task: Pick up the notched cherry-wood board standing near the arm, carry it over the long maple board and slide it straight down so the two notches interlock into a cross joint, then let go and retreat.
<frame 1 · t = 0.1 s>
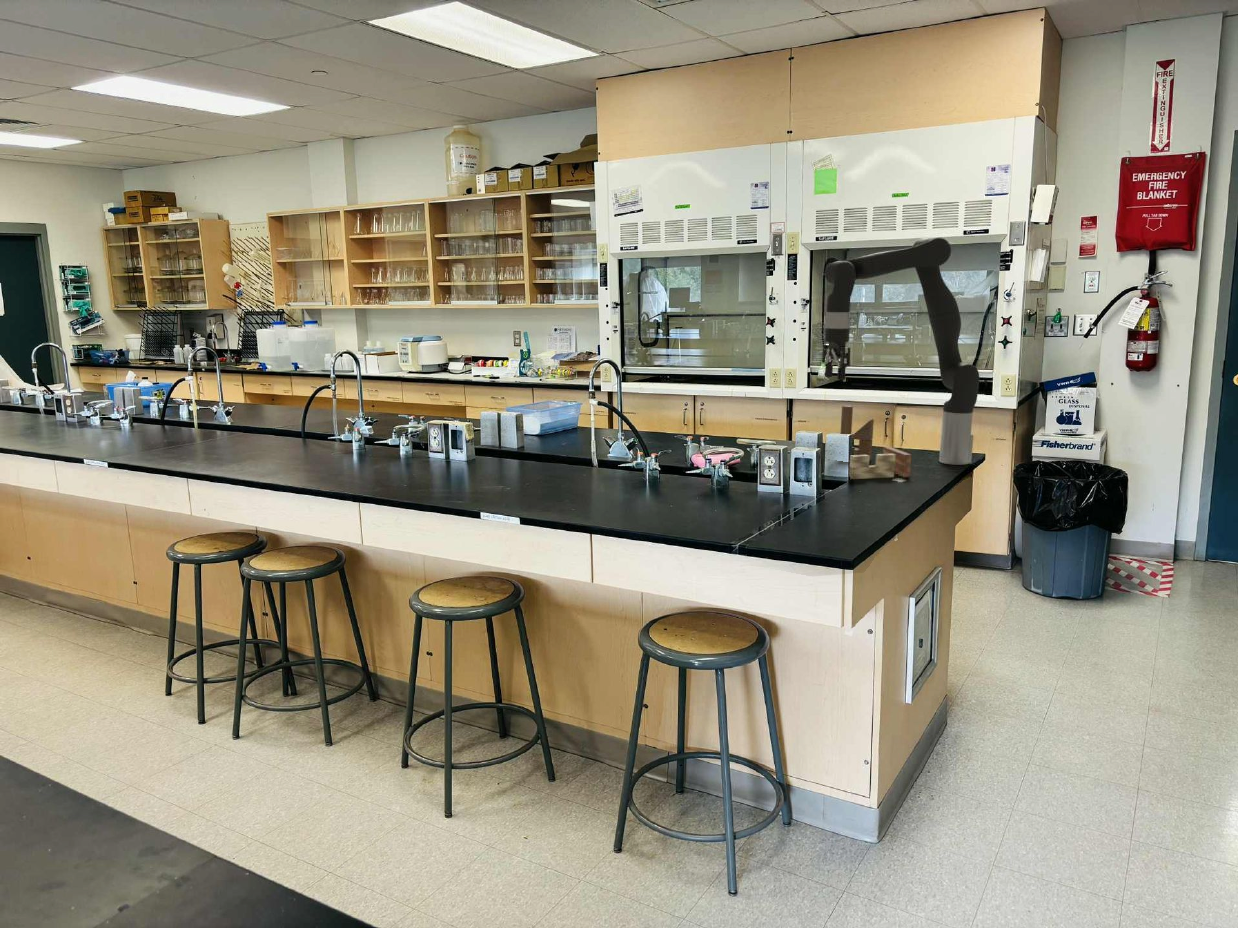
hand: (834, 378, 273), 29 cm above the worktop, tool pointing down, fingers open, 8 cm apart
cherry plate: (895, 472, 273), on the worktop
wooden block: (854, 459, 294), on the worktop
maple plate: (871, 477, 266), on the worktop
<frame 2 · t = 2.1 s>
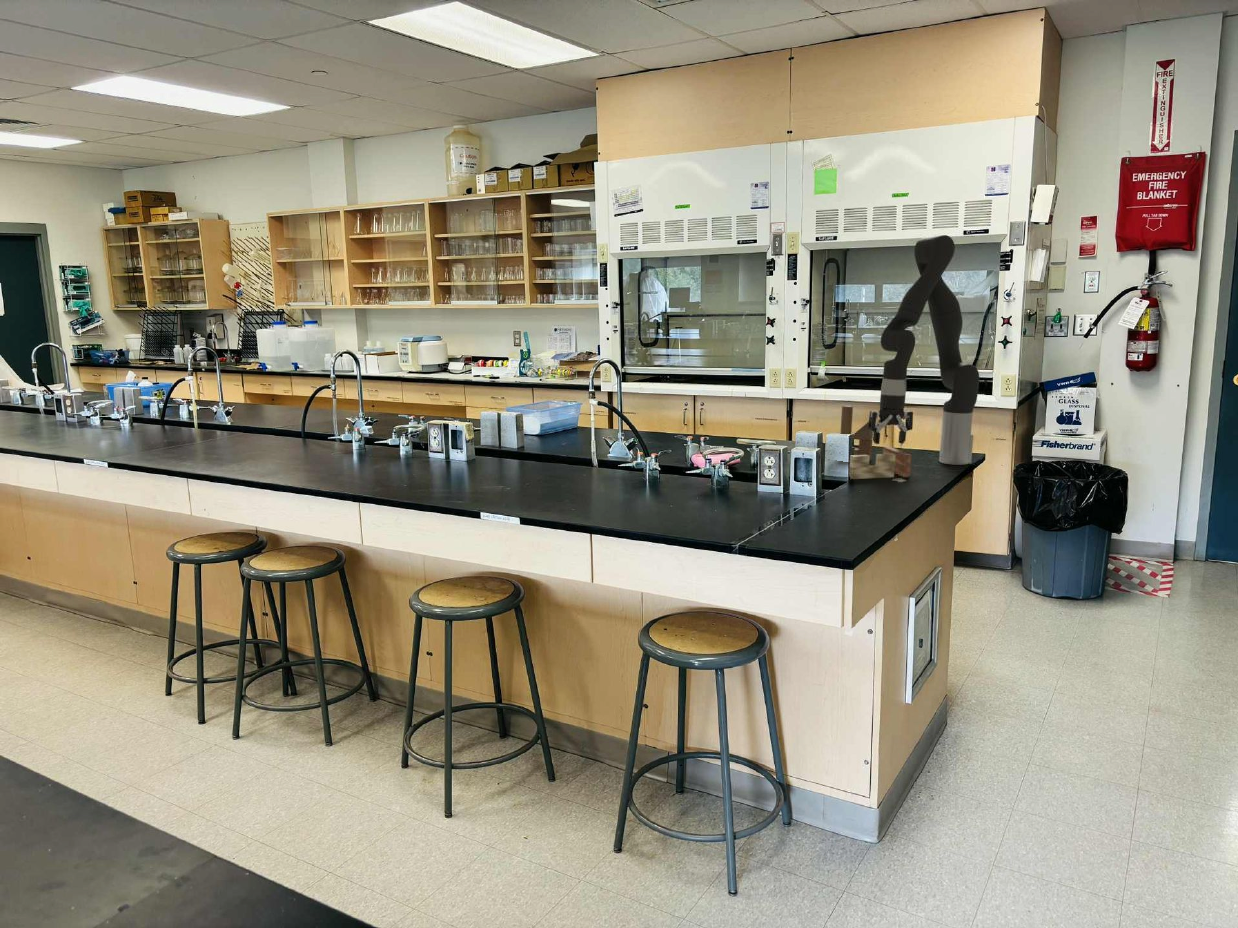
hand: (888, 443, 276), 9 cm above the worktop, tool pointing down, fingers open, 8 cm apart
nothing on the worktop moved.
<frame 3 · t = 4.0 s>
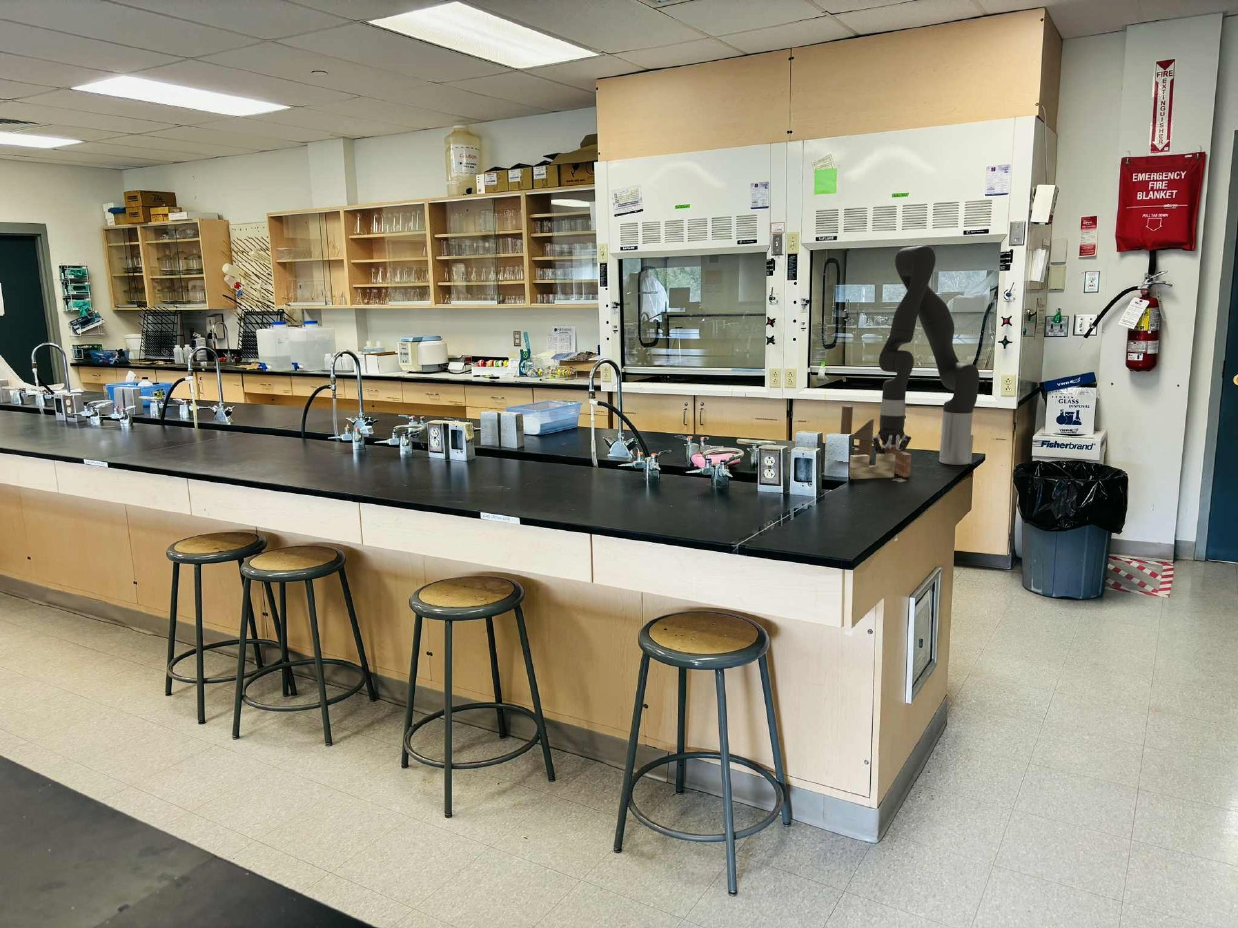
hand: (889, 466, 277), 1 cm above the worktop, tool pointing down, fingers closed on cherry plate, 2 cm apart
cherry plate: (895, 472, 273), on the worktop, touching gripper
everything else where it was.
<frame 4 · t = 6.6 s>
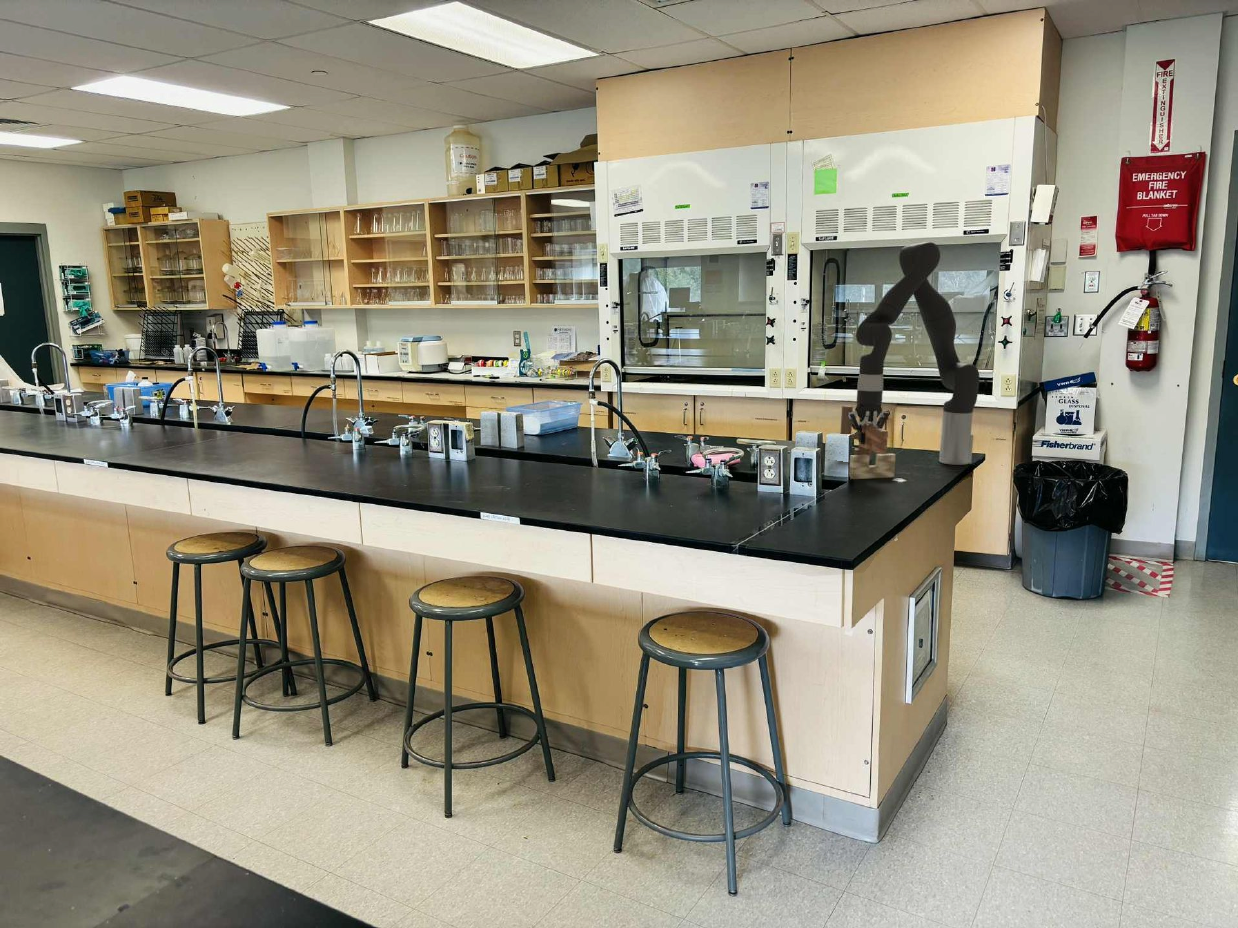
hand: (866, 443, 269), 10 cm above the worktop, tool pointing down, fingers closed on cherry plate
cherry plate: (872, 449, 265), point 9 cm above the worktop, touching gripper
everything else where it was.
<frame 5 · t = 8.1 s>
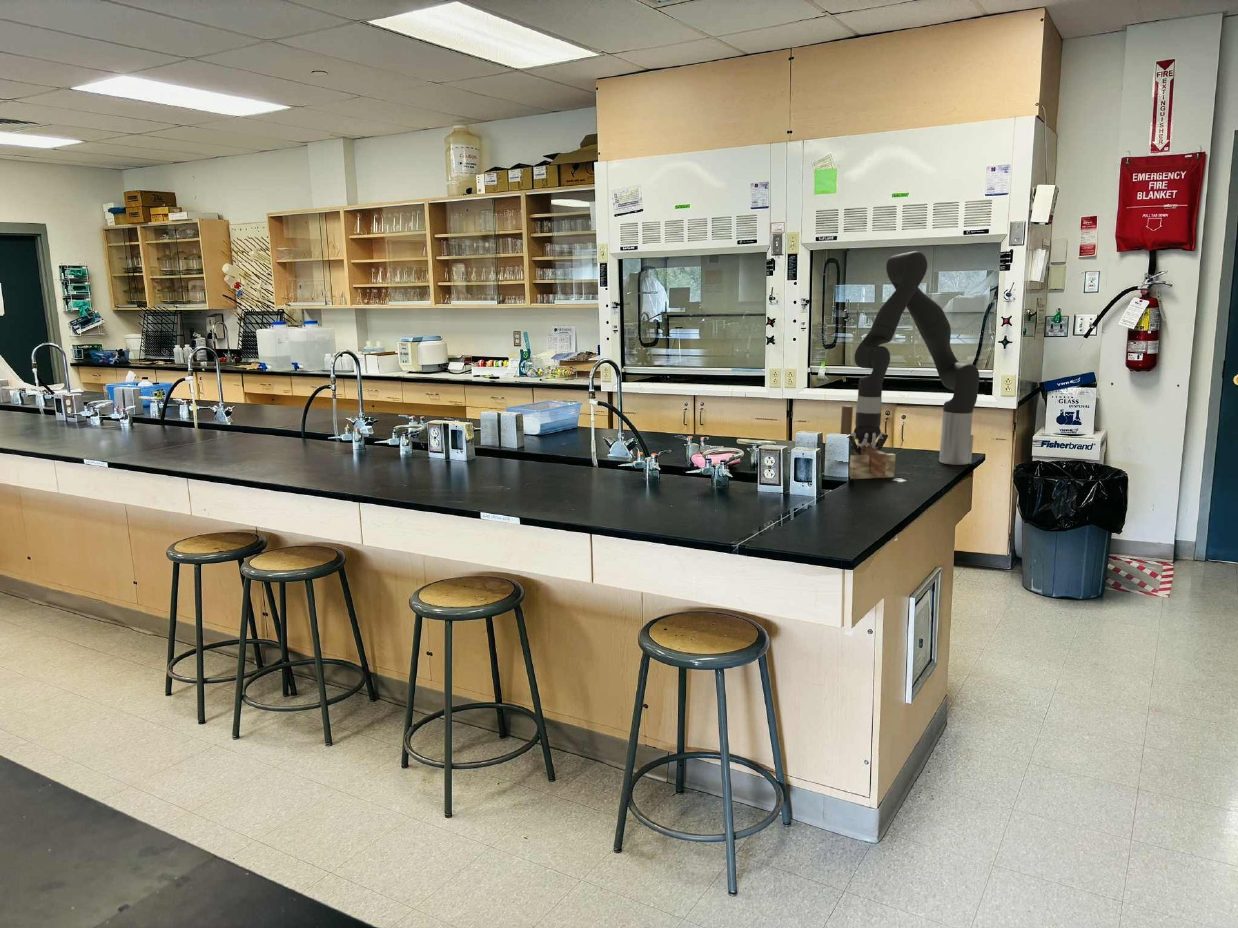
hand: (865, 465, 270), 3 cm above the worktop, tool pointing down, fingers closed on cherry plate, 2 cm apart
cherry plate: (871, 471, 266), point 2 cm above the worktop, touching gripper
everything else where it was.
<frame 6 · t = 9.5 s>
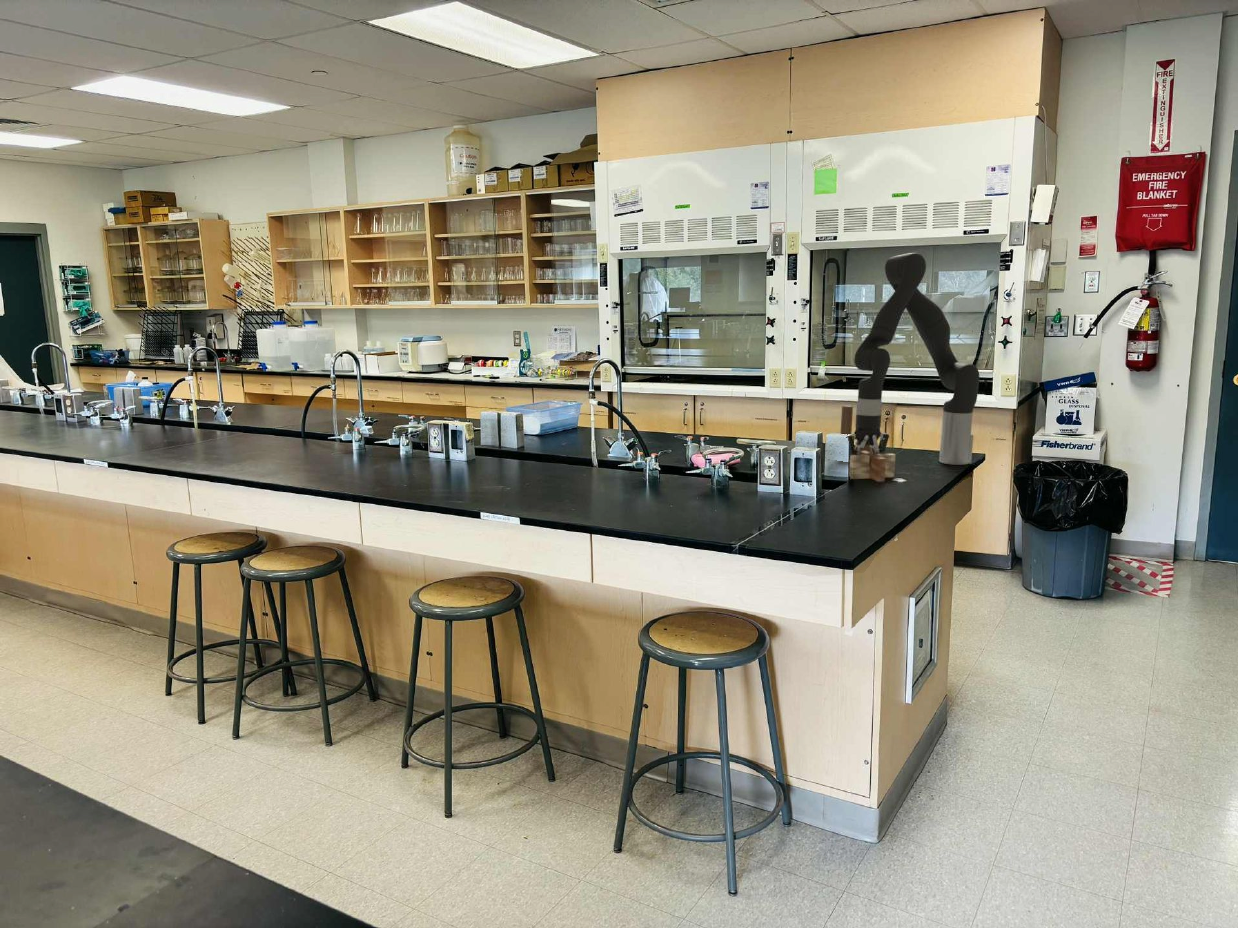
hand: (865, 466, 270), 3 cm above the worktop, tool pointing down, fingers open, 5 cm apart
cherry plate: (870, 476, 267), on the worktop
everything else where it was.
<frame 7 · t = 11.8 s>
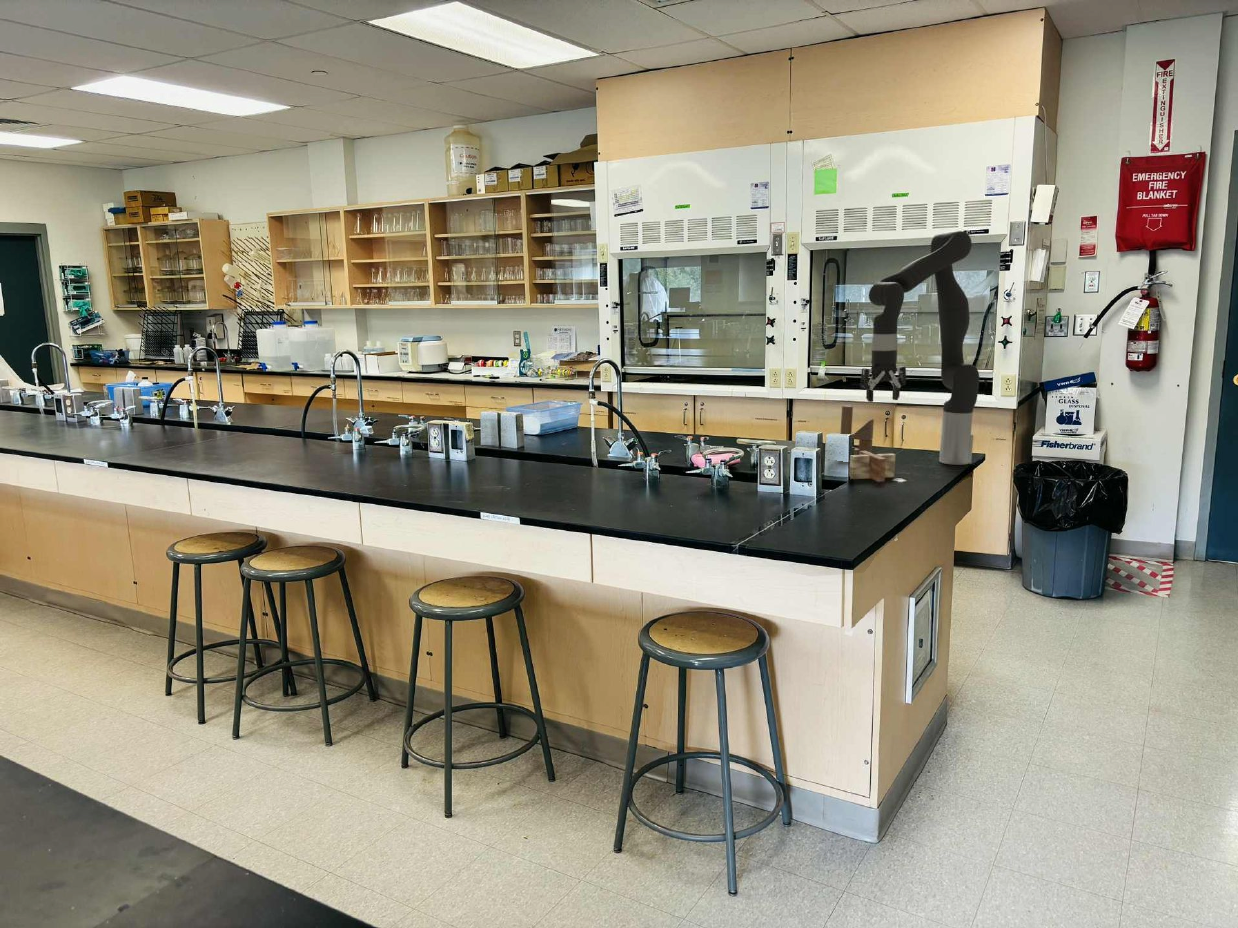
hand: (882, 400, 269), 23 cm above the worktop, tool pointing down, fingers open, 8 cm apart
nothing on the worktop moved.
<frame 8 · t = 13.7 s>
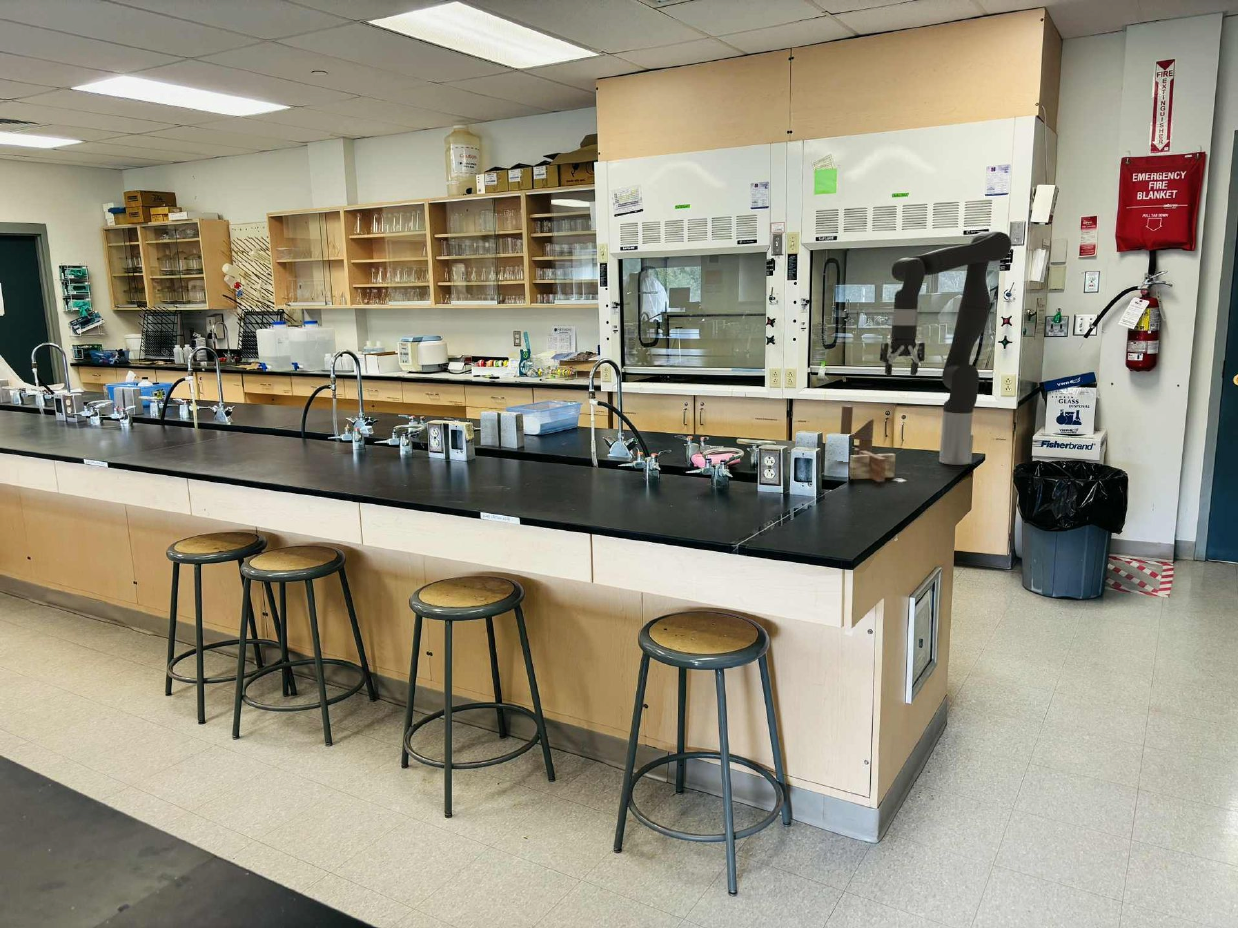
hand: (900, 375, 274), 30 cm above the worktop, tool pointing down, fingers open, 8 cm apart
nothing on the worktop moved.
at the end: cherry plate 0.5 cm off-centre on the maple plate, point 0.0 cm above the maple plate's base; cherry plate tilted 0°; the gripper is holding nothing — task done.
